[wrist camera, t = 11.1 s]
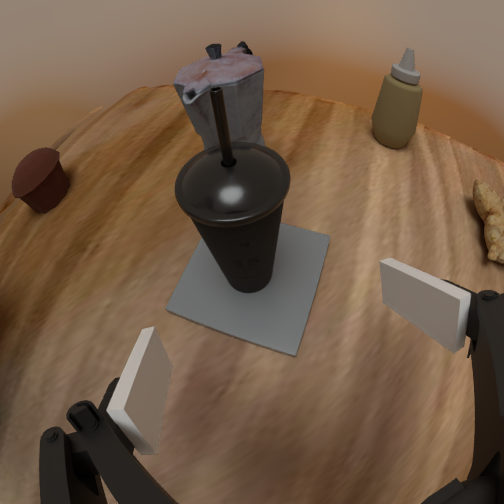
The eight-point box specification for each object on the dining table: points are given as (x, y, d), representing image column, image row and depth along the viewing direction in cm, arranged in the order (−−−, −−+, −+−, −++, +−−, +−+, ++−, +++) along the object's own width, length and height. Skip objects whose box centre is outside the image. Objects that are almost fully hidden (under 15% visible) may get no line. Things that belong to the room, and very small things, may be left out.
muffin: (69, 166, 46) (48, 130, 38) (81, 188, 41) (55, 147, 33) (28, 202, 42) (3, 169, 34) (34, 230, 38) (2, 195, 29)
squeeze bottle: (391, 158, 39) (417, 59, 24) (359, 131, 43) (373, 39, 28) (418, 147, 40) (444, 61, 25) (387, 123, 44) (404, 41, 29)
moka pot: (187, 212, 36) (137, 72, 19) (226, 142, 43) (207, 28, 26) (258, 224, 34) (241, 63, 17) (284, 148, 41) (281, 26, 24)
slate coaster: (168, 312, 29) (165, 308, 28) (219, 213, 35) (218, 208, 34) (294, 357, 25) (295, 355, 24) (329, 240, 32) (330, 235, 31)
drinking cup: (203, 257, 31) (138, 90, 14) (266, 232, 32) (254, 57, 15) (228, 318, 27) (152, 151, 10) (298, 288, 28) (323, 101, 11)
